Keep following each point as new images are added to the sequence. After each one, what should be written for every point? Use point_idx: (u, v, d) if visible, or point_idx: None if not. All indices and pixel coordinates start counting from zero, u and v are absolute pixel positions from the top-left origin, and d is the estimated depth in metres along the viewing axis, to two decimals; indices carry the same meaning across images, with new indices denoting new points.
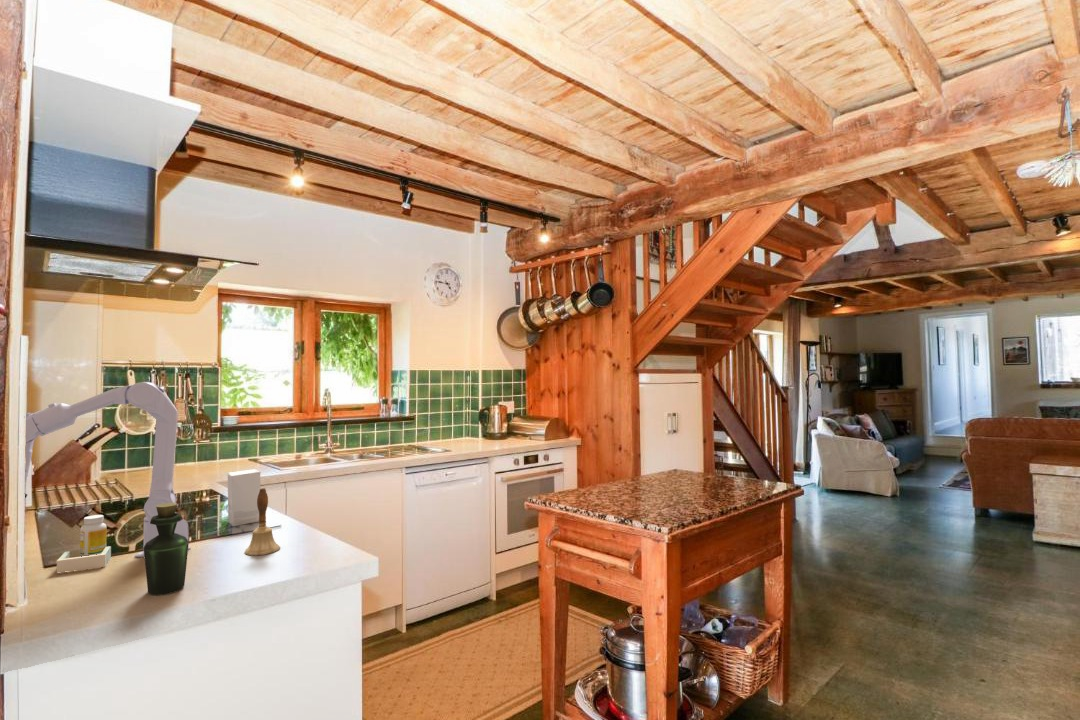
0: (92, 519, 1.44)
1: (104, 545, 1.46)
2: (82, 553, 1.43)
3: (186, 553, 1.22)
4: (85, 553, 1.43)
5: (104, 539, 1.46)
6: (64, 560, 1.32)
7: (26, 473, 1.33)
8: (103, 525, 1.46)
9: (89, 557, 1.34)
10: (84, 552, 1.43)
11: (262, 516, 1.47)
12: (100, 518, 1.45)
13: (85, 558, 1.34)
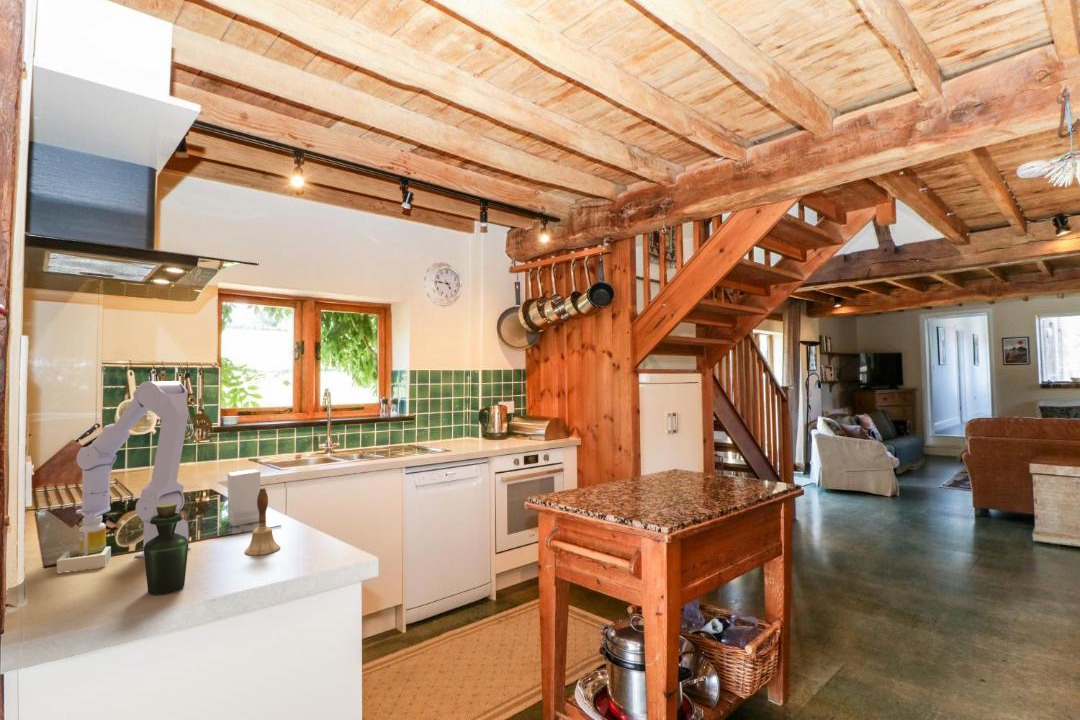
0: None
1: (104, 545, 1.46)
2: (82, 553, 1.43)
3: (186, 553, 1.22)
4: (85, 553, 1.43)
5: (103, 539, 1.45)
6: (64, 560, 1.32)
7: (108, 493, 1.50)
8: (102, 525, 1.45)
9: (89, 557, 1.34)
10: (84, 552, 1.43)
11: (262, 516, 1.47)
12: (99, 518, 1.45)
13: (85, 558, 1.34)
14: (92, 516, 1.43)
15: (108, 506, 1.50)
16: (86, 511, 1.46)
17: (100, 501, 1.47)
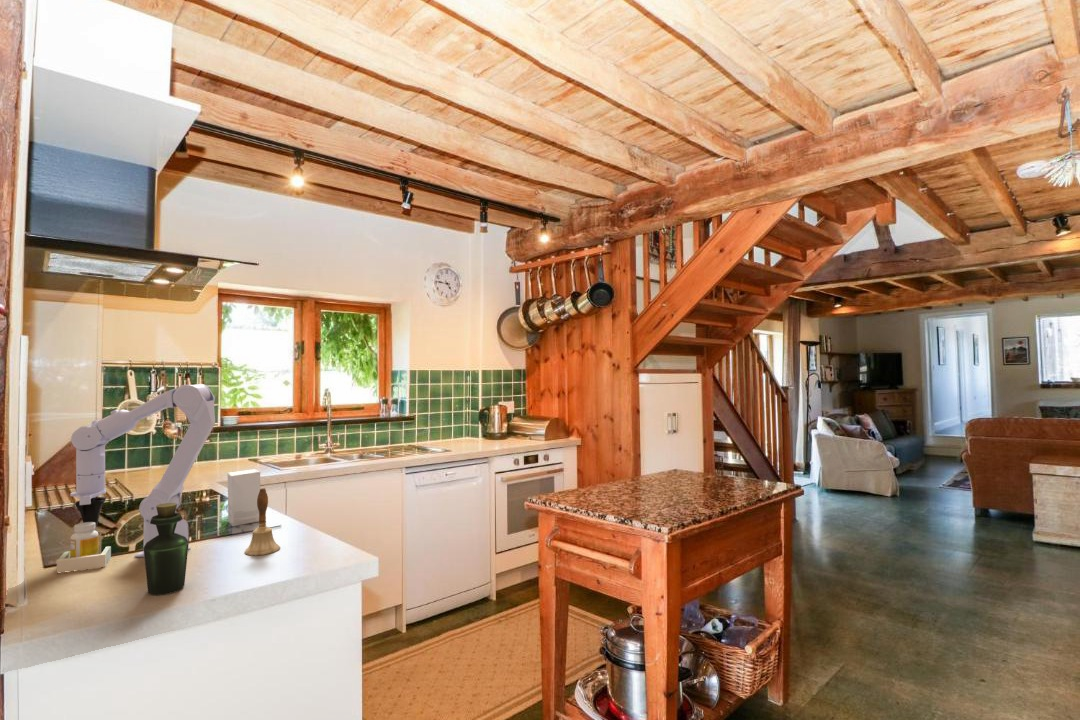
0: (84, 526, 1.37)
1: (96, 554, 1.39)
2: None
3: (186, 553, 1.22)
4: None
5: (96, 547, 1.39)
6: (64, 560, 1.32)
7: (103, 475, 1.44)
8: (95, 533, 1.39)
9: (89, 557, 1.34)
10: None
11: (262, 516, 1.47)
12: (92, 525, 1.38)
13: (85, 558, 1.34)
14: (87, 498, 1.37)
15: (104, 488, 1.44)
16: (81, 493, 1.40)
17: (95, 482, 1.41)
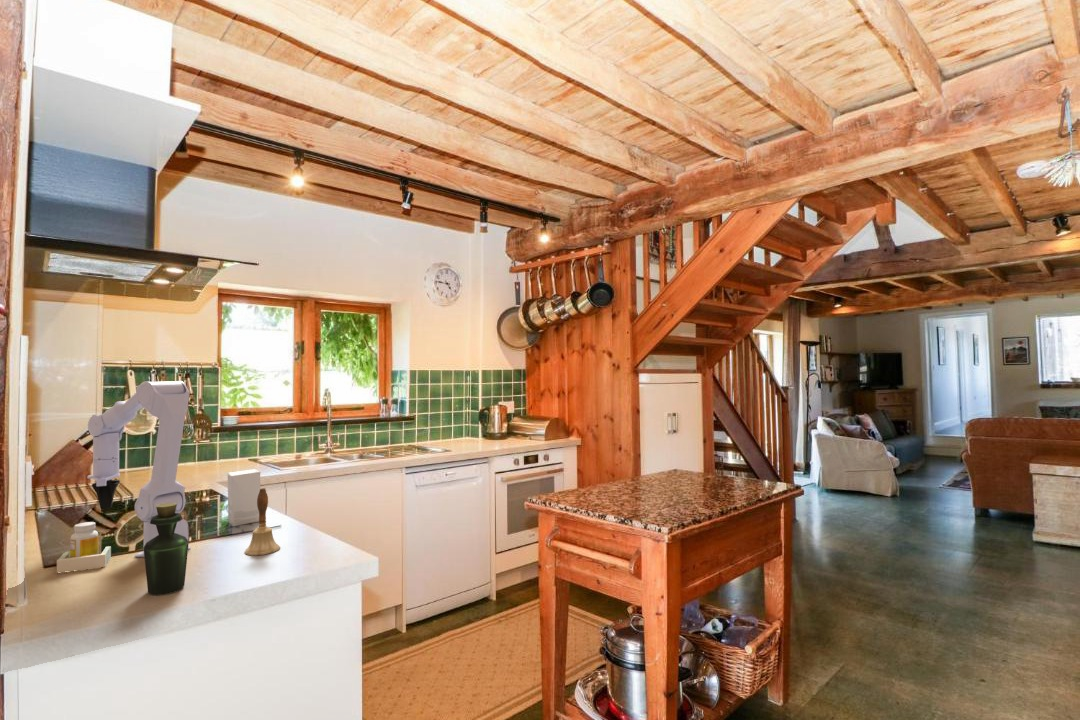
0: (84, 526, 1.37)
1: (96, 553, 1.39)
2: None
3: (186, 553, 1.22)
4: None
5: (96, 547, 1.39)
6: (64, 560, 1.32)
7: (118, 459, 1.56)
8: (95, 533, 1.39)
9: (89, 557, 1.34)
10: None
11: (262, 516, 1.47)
12: (92, 525, 1.38)
13: (85, 558, 1.34)
14: (103, 480, 1.49)
15: (118, 472, 1.56)
16: (97, 476, 1.52)
17: (110, 466, 1.54)
